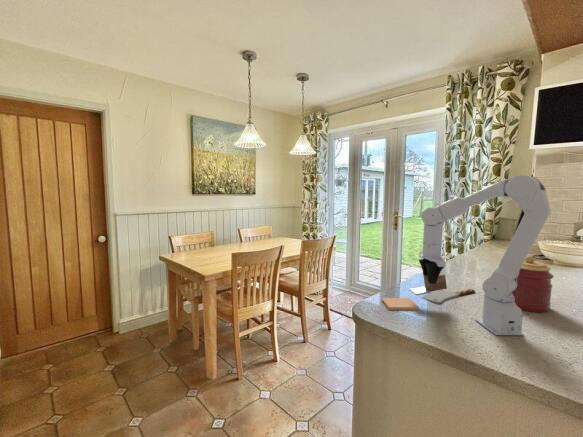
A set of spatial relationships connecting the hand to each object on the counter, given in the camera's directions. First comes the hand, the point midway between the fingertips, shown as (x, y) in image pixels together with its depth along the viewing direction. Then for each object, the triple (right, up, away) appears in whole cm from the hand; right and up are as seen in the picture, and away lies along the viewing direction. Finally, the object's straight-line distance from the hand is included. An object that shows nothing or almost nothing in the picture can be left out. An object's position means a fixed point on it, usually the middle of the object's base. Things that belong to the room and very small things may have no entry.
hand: (429, 281), depth 99 cm
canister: (+34, -9, +2) cm, 35 cm away
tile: (-10, -8, +1) cm, 13 cm away
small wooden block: (-1, -3, 0) cm, 3 cm away
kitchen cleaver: (+12, -8, +11) cm, 18 cm away
